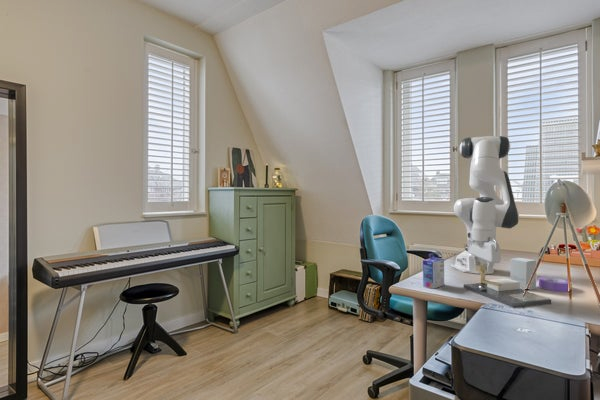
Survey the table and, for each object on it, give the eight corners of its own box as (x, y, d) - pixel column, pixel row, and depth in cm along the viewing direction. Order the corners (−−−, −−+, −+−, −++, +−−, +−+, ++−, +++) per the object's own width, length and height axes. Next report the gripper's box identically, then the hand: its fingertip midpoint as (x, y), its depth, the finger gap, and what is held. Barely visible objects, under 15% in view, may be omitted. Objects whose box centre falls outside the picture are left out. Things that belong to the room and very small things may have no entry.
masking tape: (535, 288, 153) (536, 279, 153) (541, 283, 161) (541, 275, 161) (568, 294, 144) (569, 285, 144) (573, 288, 153) (573, 280, 152)
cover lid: (487, 287, 149) (487, 280, 149) (508, 285, 151) (508, 278, 151) (498, 291, 143) (498, 283, 143) (519, 289, 146) (520, 282, 146)
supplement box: (536, 288, 152) (537, 260, 151) (526, 290, 148) (526, 261, 148) (519, 284, 158) (520, 257, 158) (509, 286, 155) (510, 258, 155)
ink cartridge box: (433, 282, 161) (433, 252, 161) (444, 285, 157) (445, 253, 157) (422, 286, 155) (422, 254, 155) (433, 289, 151) (433, 256, 150)
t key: (485, 283, 147) (485, 263, 147) (504, 288, 140) (504, 267, 140) (475, 286, 144) (475, 265, 143) (494, 291, 137) (495, 269, 136)
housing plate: (463, 287, 153) (463, 281, 153) (498, 284, 157) (498, 278, 157) (512, 307, 128) (512, 299, 128) (552, 303, 132) (552, 295, 132)
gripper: (505, 240, 133) (504, 275, 134) (479, 232, 154) (478, 263, 154) (489, 240, 134) (488, 275, 134) (464, 232, 154) (464, 263, 155)
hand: (482, 268), depth 144 cm, fingers open, 8 cm apart
